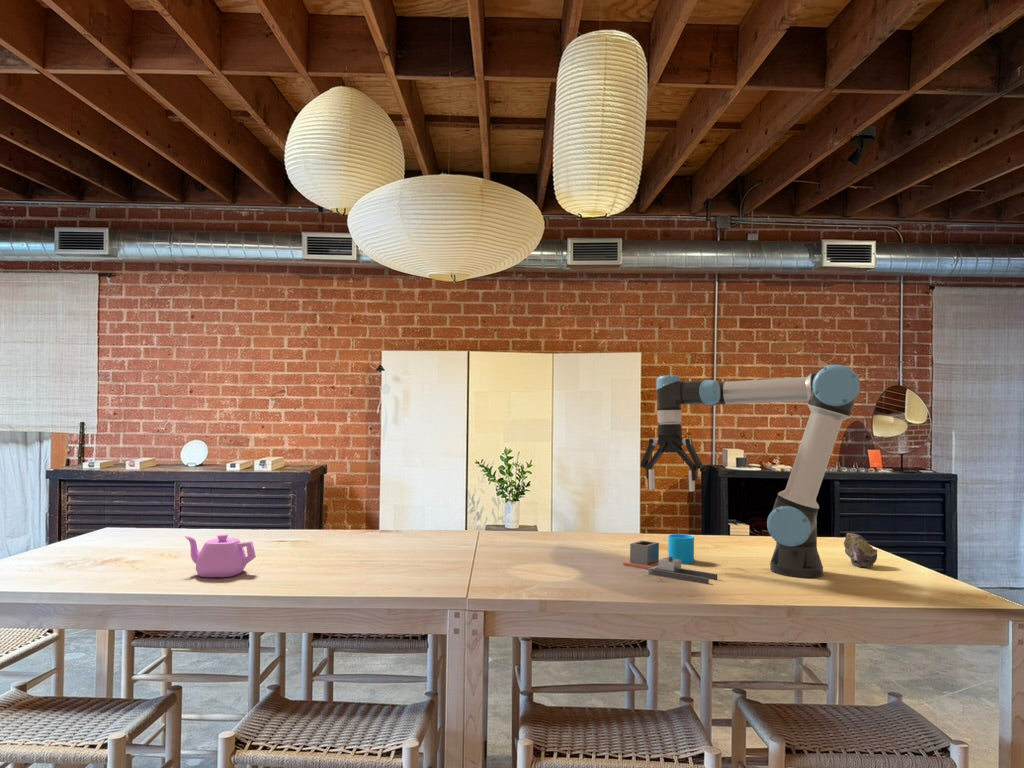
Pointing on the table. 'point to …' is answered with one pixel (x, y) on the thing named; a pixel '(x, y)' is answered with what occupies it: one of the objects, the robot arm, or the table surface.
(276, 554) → the table surface
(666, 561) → the grey knobbed block
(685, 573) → the track
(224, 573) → the teapot
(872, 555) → the rock
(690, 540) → the mug
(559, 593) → the table surface
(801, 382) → the robot arm
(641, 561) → the grey hollow block
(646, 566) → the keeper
